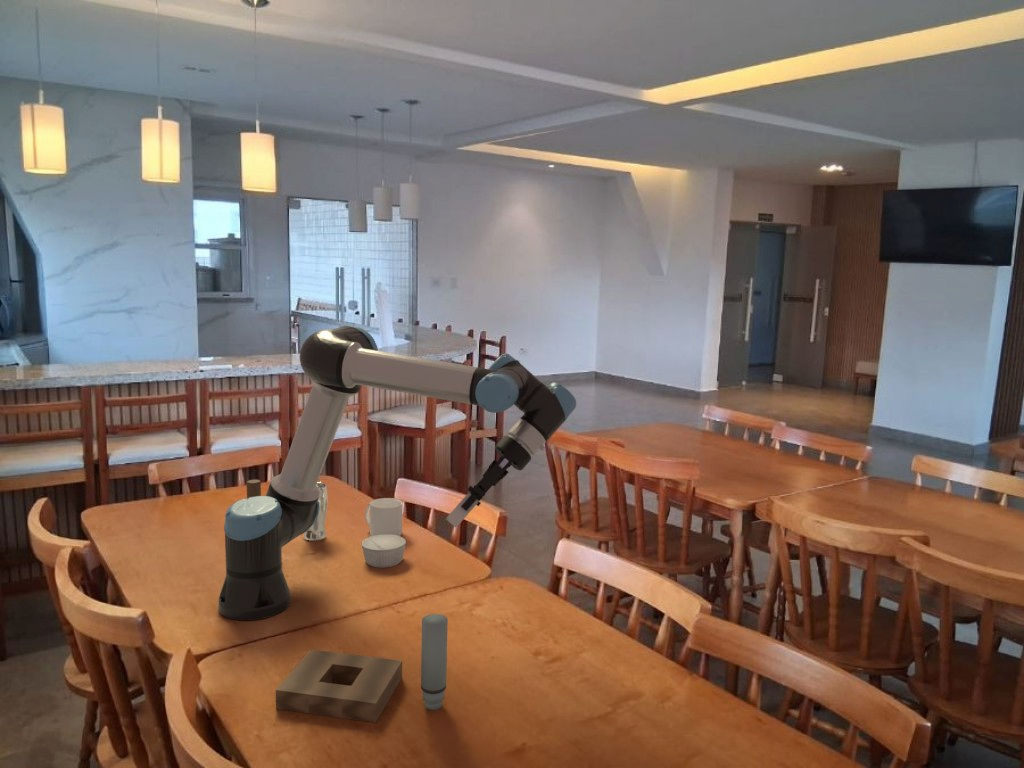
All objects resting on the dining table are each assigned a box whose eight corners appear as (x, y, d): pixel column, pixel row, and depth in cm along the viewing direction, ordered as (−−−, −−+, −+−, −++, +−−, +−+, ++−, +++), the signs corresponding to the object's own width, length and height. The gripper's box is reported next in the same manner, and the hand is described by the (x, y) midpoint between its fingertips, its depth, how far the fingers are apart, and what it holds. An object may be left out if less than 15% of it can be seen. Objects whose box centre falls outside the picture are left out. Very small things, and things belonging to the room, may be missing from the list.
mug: (408, 534, 212) (409, 503, 211) (383, 542, 205) (383, 510, 204) (382, 524, 220) (382, 493, 219) (357, 531, 213) (357, 500, 212)
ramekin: (353, 565, 190) (353, 545, 189) (376, 550, 200) (376, 531, 199) (391, 573, 186) (391, 552, 185) (413, 557, 196) (413, 538, 195)
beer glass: (304, 532, 211) (303, 481, 209) (329, 532, 212) (329, 481, 209) (299, 541, 204) (298, 489, 202) (325, 541, 205) (325, 489, 202)
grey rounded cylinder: (417, 710, 129) (418, 624, 126) (424, 696, 133) (426, 612, 131) (442, 714, 128) (443, 627, 126) (448, 699, 133) (450, 615, 130)
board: (275, 708, 128) (275, 689, 128) (311, 666, 142) (311, 649, 141) (375, 722, 125) (375, 703, 125) (402, 678, 139) (402, 660, 138)
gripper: (540, 450, 144) (467, 534, 140) (526, 463, 169) (463, 535, 164) (511, 424, 145) (437, 507, 140) (501, 441, 169) (438, 512, 164)
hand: (451, 523), depth 152 cm, fingers open, 13 cm apart
